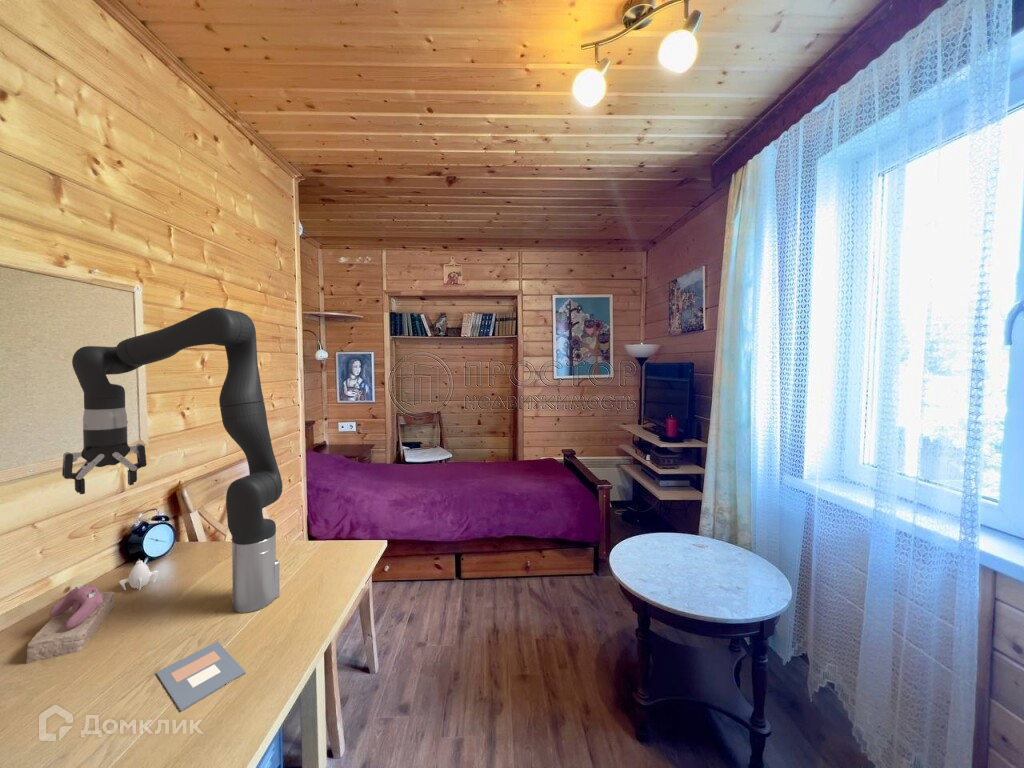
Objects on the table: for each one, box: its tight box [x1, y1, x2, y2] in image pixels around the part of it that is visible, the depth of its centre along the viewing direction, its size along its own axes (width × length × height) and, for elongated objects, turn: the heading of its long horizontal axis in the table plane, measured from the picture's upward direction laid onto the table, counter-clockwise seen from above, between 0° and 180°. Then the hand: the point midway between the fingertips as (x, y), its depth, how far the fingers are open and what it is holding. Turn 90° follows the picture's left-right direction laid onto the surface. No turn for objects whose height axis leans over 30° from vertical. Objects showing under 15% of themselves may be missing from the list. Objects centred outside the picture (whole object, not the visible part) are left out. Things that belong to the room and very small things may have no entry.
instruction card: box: [155, 641, 246, 712], centre depth 74 cm, size 10×14×1 cm
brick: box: [25, 591, 116, 664], centre depth 84 cm, size 17×8×5 cm, turn 30°
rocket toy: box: [118, 558, 160, 591], centre depth 100 cm, size 5×5×8 cm
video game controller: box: [48, 584, 102, 629], centre depth 83 cm, size 10×5×7 cm, turn 66°
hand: (107, 488), depth 95 cm, fingers open, 8 cm apart
